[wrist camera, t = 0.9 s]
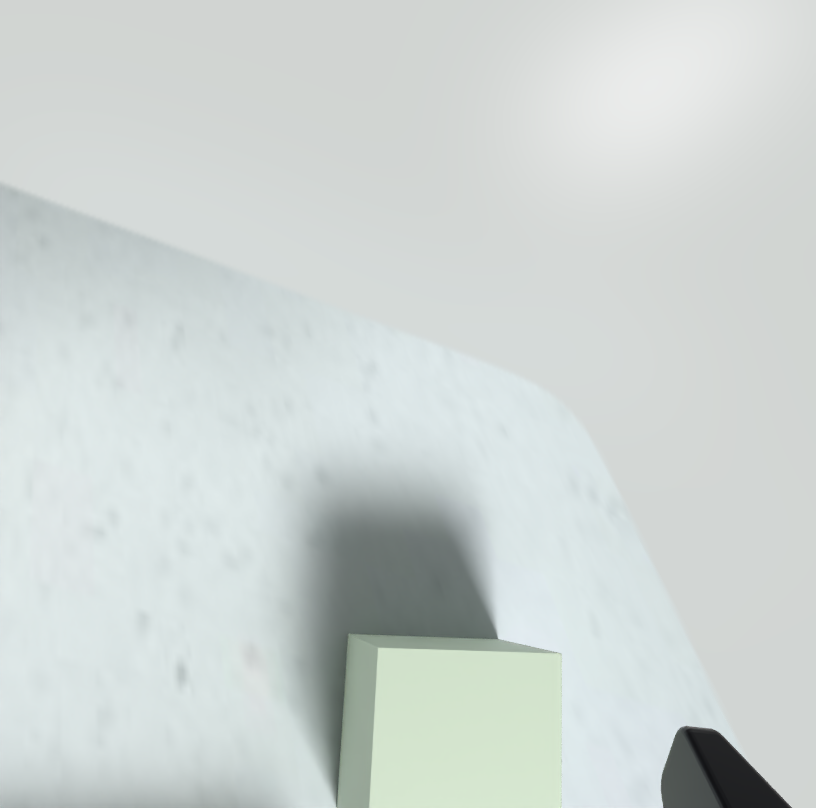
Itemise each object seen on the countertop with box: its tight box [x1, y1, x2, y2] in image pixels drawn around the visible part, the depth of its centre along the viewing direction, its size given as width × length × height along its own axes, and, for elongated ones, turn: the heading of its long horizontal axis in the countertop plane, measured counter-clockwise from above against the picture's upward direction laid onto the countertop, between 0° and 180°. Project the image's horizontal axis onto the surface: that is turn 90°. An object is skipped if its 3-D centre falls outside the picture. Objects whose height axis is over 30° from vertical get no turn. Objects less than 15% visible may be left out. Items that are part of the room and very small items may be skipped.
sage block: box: [337, 634, 562, 808], centre depth 21 cm, size 5×5×5 cm
